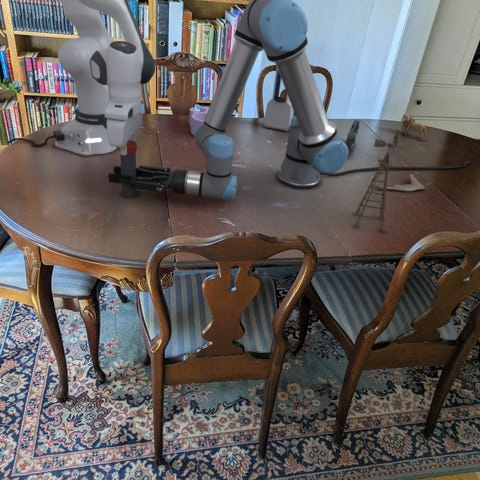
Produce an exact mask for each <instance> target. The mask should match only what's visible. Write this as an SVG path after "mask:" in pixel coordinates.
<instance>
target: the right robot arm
mask: <svg viewBox="0 0 480 480" xmlns="http://www.w3.org/2000/svg"><path fill="white" fill-rule="evenodd" d="M308 27H309V26H308V18H307V15H306V13H305V11H304V9H302V7H301V6H300V5H298V4H297V3H296V2H295V1H293V0H250V1H249V3H247V5H246V7H245V8H244V10H243V12H242V14H241V17H240V18H239V21H238V24H237V27H236V29H235V31H234V34H233V37H234V39H235V40H234V44H233V46H232V49H231V51H230V54H229V57H228V59H227V62H226V64H225V67H224V69H223V71H222V74H221V76H220V78H219V79H220V80H219V81H218V84H217V87H216V89H215V92H214V95H213V97H212V99H211V102H210V105H209V108H208V112H207V115H206V117H205V120H204V122H203V124H201V125H200V126H199V127H198V128H197V129H196V131H195V136H194V140H195V143H196V145H197V147H199V149H200V150H201V152H202V154H203V155H204V156H205V158H206V172H205V171H204V172H203V171H198V170H197V171H196V170H189V171H187V170H186V169H178V168H176V169H175V170H174V171H173V172H171V167H158V166H148V165H139V166H138V167H136V177H132V175H121V166H115V165H114V166H113V173H111V172H109V173H108V174H107V175H108V183H112V184H120V185H122V184H129V185H130V189H135V190H137V191H145V192H154V193H157V194H163V191H164V190H171V191H172V193H173V194H175V195H182V196H183V195H185V194H186V195H187V196H193V197H202V198H208V199H209V198H210V199H219V200H234V199H235V198H236V194H237V186H238V176H236V175H233V174H232V167H233V159H234V152H235V149H234V139H233V137H231V136H230V135H227V134H226V131H227V129H228V126H229V124H230V122H231V119H232V117H233V114H234V112H235V109H236V107H237V105H238V103H239V101H240V98H241V96H242V94H243V91H244V89H245V86H246V84H247V82H248V79H249V77H250V74H251V73H252V70H253V68H254V65H255V63H256V61H257V58H258V55H259V53H261V52H262V51H264V53H265V56H266V58H267V60H268V61H269V62H271V63H274V64H275V66H276V67H277V69H278V71H279V74H280V76H281V82H282V84H283V86H284V87H283V88H284V90H285V93H286V92H287V95H288V97H289V100H290V102H291V105H292V108H293V110H294V112H293V114H294V115H293V118H292V119H291V123H290V126H289V127H290V129H289V130H288V137H287V141H286V142H287V143H286V149H285V150H286V151H285V156H284V158H283V161H282V162H281V165H280V166H279V168H278V170H277V175H276V176H277V180H278V182H280V183H281V184H283V185H285V186H288V187H291V188H295V189H312V188H315V187H318V185H320V180H321V176H330V177H338V176H342V175H346V174H350V173H356V172H365V171H378V167H379V166H376V167H375V166H374V167H364V168H356V169H355V168H354V169H349V170H344V171H341V172H338V171H339V170H340V169H342V167H344V165H345V164H346V161H347V160H348V159H349V158H348V148H347V146H346V142H344V141H343V140H341V138H340V135H339V132H338V129H337V126H336V124H335V122H333V121H332V120H329V119H328V115H327V112H326V109H325V106H324V104H323V101H322V97H321V95H320V92H319V89H318V86H317V85H318V84H317V81H316V80H315V76H314V74H313V70H312V68H311V67H312V66H311V64H310V61H309V59H308V57H307V53H306V48H307V46H308V45H309V40H308V37H307V33H308ZM347 158H348V159H347ZM469 162H470V161H469V160H468V161H465V162H464V163H463V164H467V163H468V164H467V165H469V166H472V162H471V163H469ZM463 164H462V165H463ZM454 166H456V167H454ZM464 167H466V165H463V166H458V165H446V166H443V165H442V166H396V167H393V166H392V167H390V166H388V170H446V169H460V168H464ZM383 169H386V166H385V167H383Z"/></svg>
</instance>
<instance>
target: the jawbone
mask: <svg viewBox="0 0 480 480" xmlns="http://www.w3.org/2000/svg"><path fill="white" fill-rule="evenodd" d="M409 179H410V184H409V183H408V184H393V186H387V189H386V190H391V191H400V192H409V193H410V192H415V191H419V190H425V189H426V187H425V185H424V184H422V183H421V182H419V181H418V179H417V177H415V176H414V174H413V173H410V174H409ZM377 186H380V187H384V185H380V184H378V185H377ZM378 189H380V190H383V188H378Z"/></svg>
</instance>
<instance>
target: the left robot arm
mask: <svg viewBox="0 0 480 480" xmlns="http://www.w3.org/2000/svg"><path fill="white" fill-rule="evenodd" d="M60 1H61V5H62V10H63V15H64V17H65V18H66V20H67V21H68V22H70V23H71V24H72V25H73V27H74V28H75V30H76V32H77V35H78V37H75V38H71V39H69V40H67V41H66V42H64V44H62V45H61V46H60V47H59V48H58V52H57V58H58V62H59V64H60V66H61V68H62V69H63V70H64V71H65V72H66V73H68V74H69V76H70V77H71V80H72V82H73V83H74V87H75V92H76V101H77V108H76V109H75V110H74V111H71V115H72V116H74V115H75V116H74V118H73V119H72V120H71V121H69V122H68V123H67V124H65V125H64V126H63V127H62V128H61V130H60V129H59V130H57V129H56V130H52V135H50V136H47V137H46V138H44V141H43V142H42V143H39V144H36V143H35V141H34V140H32V139H29V138H22V137H14V138H12V139H9V141H7V144H11V143H12V142H15V141H23V142H28V143H31V145H32V146H33V147H42V146H44V145H46V144H47V143H48V140H50V139H55V142H54V146H55V147H57V148H59V149H62V150H65V151H69V152H72V153H74V154H78V155H80V156H84V157H85V156H86V157H87V156H92V155H105V154H108V153H111V152H114V151H115V150H116V149H117V148H118V149H119V148H120V151H119V155H120V154H121V155H126V154H127V153H128V148H127V147H126V144H127V141H128V140H129V141H134V142H136V136H137V132H138V131H139V130H140V129H141V128H142V127H143V122H144V117H143V99H142V98H143V96H142V90H141V85H146V84H147V83H149V82H150V81H151V79H152V78H153V76H154V75H155V73H156V62H155V59H154V57H153V55H152V53H151V51H150V49H149V48H148V46H147V45H146V41H145V39H144V37H143V34H142V32H141V30H140V27H139V25H138V22H137V20H136V18H135V15H134V13H133V10H132V7H131V6H130V4H129V1H128V0H60ZM101 13H103V14H105V15H107V16H109V17H110V18H112V19H113V20H114V21H115V22H116V24H117V25H118V27H119V30H120V31H121V34H122V37H123V39H124V40H116V39H115V37H113V36H112V35H111V34H110V33H109V31H108V28H107V27H106V25H105V22H104V21H103V18H102V14H101Z"/></svg>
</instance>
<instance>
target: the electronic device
mask: <svg viewBox="0 0 480 480" xmlns="http://www.w3.org/2000/svg"><path fill="white" fill-rule="evenodd" d="M275 68H276V70H275V75H274V76H275V77H274V84H273V91H272V97H271V99H270V100H268V101H267V104H266V109H265V112H264V116H263V119H262V120H263V121H262V125H263V126H264V128H268V129H272V130H278V131H283V132H289V129H290V127H289V126H290V123H291V119H292V118H293V117H294V110H293V108H292V105H291V102H290V100H289V97H288V95H287V92H286V91H285V95H284V97H281V96H280V89H281V82H282V79H281V76H280V74H279V71H278V69H277V66H276V67H275Z"/></svg>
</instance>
